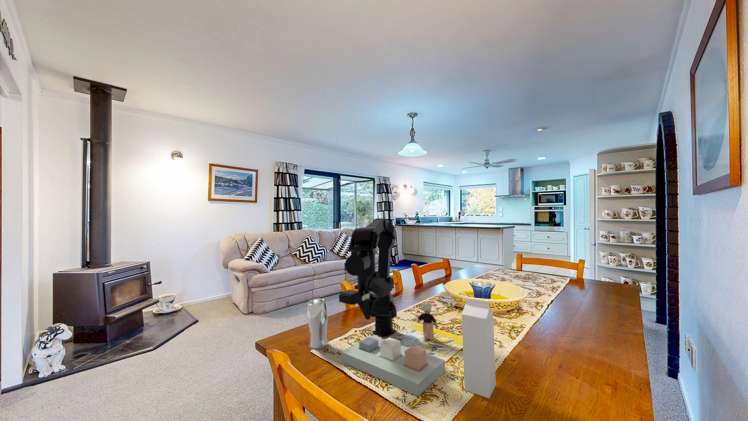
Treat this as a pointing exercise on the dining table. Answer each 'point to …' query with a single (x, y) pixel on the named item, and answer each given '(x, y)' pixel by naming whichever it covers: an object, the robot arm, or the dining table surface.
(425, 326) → the grandmother figurine
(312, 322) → the beer glass
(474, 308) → the milk
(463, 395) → the dining table surface
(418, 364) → the terracotta key
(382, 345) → the light grey cube
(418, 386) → the console
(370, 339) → the slate key
